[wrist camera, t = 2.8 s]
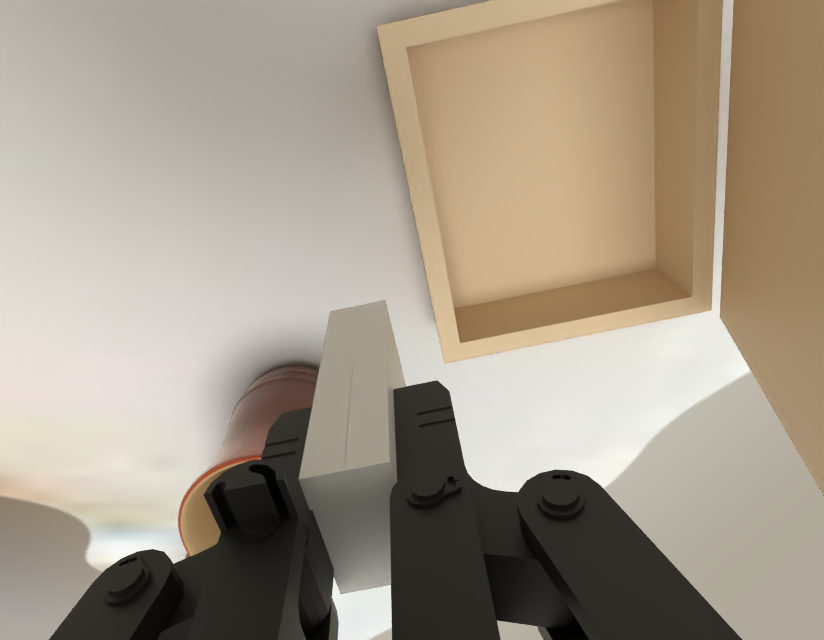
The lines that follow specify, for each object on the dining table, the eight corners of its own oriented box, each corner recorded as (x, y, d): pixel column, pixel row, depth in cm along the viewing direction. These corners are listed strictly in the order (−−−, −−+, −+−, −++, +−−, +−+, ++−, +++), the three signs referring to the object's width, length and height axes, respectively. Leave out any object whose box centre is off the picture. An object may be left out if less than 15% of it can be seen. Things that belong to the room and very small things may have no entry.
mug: (290, 321, 34) (257, 423, 24) (395, 406, 37) (401, 525, 27) (170, 441, 37) (100, 572, 28) (275, 510, 40) (244, 649, 31)
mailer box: (376, 30, 27) (376, 25, 23) (666, -35, 27) (724, -52, 22) (435, 322, 34) (444, 363, 30) (666, 275, 34) (711, 310, 29)
